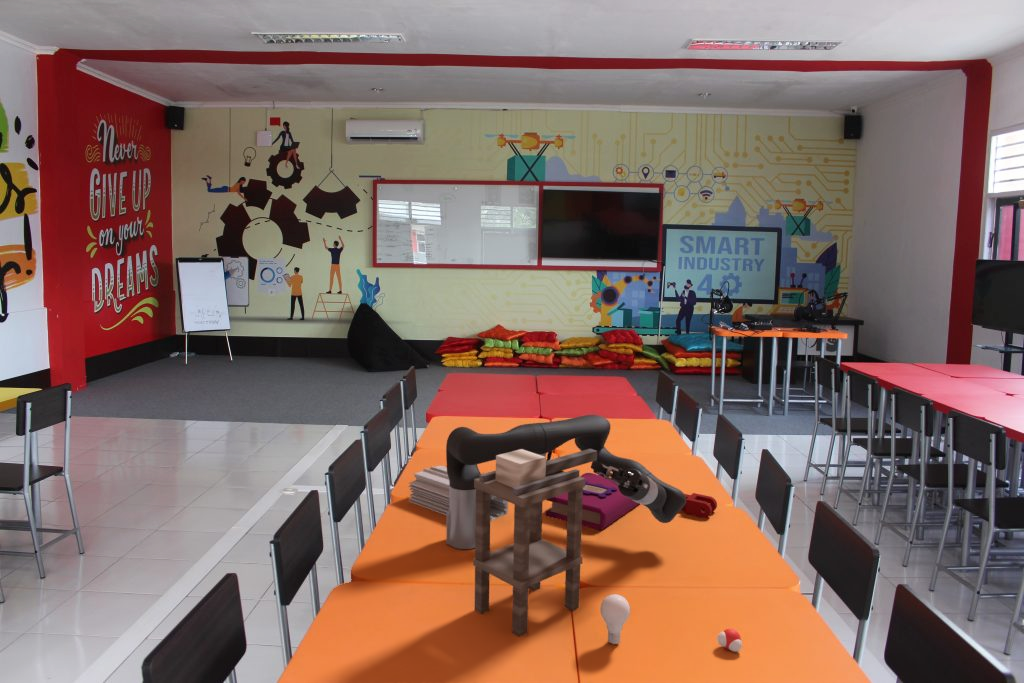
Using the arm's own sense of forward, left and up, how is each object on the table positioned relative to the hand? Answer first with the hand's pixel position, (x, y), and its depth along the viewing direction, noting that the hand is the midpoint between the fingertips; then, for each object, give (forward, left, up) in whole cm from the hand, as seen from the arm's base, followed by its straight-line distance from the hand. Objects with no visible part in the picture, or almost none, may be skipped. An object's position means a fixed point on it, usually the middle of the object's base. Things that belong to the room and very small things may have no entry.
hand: (605, 468), depth 190 cm
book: (-11, +46, -30) cm, 56 cm away
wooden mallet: (-10, -16, +3) cm, 19 cm away
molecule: (+32, -24, -29) cm, 50 cm away
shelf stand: (-14, -22, -29) cm, 39 cm away
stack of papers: (-53, +32, -30) cm, 69 cm away
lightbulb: (+8, -30, -29) cm, 43 cm away
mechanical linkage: (+18, +55, -30) cm, 65 cm away
